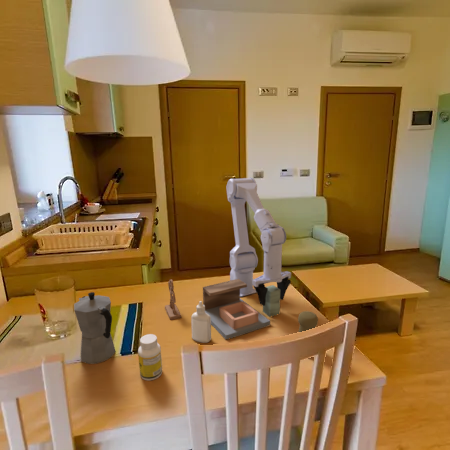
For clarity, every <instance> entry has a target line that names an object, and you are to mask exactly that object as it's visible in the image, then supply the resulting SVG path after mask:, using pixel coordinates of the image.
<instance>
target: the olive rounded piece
mask: <svg viewBox="0 0 450 450" xmlns="http://www.w3.org/2000/svg"><path fill="white" fill-rule="evenodd" d="M297 321H298V324H299V326H298V327H299V328H298V332H302V331H306V330H309V329H312V328H315V327H316V328H317V326H318V324H319V318H318V316H317V314H316V313H314V312H312V311H310V310H306V311H301V312H300V313H299V314H298V317H297Z"/></svg>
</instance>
